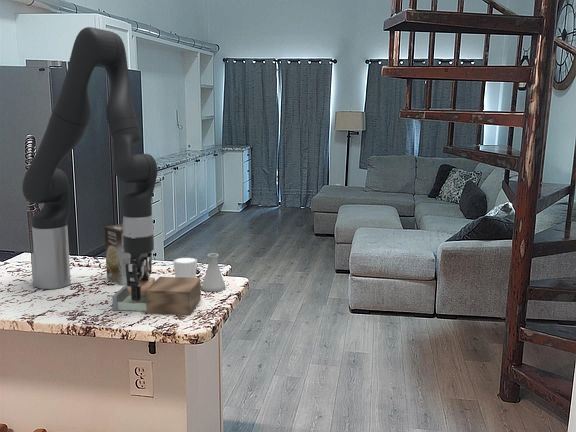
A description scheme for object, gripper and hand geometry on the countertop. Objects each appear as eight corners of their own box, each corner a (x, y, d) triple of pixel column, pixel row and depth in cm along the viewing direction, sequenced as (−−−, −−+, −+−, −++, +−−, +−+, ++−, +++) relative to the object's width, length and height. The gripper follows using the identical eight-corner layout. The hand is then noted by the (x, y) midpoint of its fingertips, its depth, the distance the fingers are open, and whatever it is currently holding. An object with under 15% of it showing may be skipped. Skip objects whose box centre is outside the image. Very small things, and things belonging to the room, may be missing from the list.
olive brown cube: (136, 293, 158) (136, 281, 158) (141, 289, 162) (140, 277, 162) (150, 294, 158) (150, 281, 158) (155, 289, 162) (154, 277, 162)
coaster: (123, 294, 146) (123, 287, 145) (132, 287, 152) (132, 279, 152) (148, 295, 145) (148, 288, 145) (156, 288, 152) (155, 280, 151)
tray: (112, 310, 145) (112, 296, 144) (127, 297, 155) (126, 283, 154) (155, 312, 144) (155, 297, 143) (167, 298, 154) (166, 285, 153)
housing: (146, 313, 143) (145, 290, 142) (160, 297, 155) (159, 276, 154) (190, 315, 143) (189, 292, 142) (200, 299, 154) (200, 278, 153)
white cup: (175, 279, 172) (174, 257, 170) (198, 279, 172) (198, 257, 171) (172, 286, 165) (171, 263, 164) (196, 286, 166) (196, 263, 164)
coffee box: (105, 278, 172) (103, 226, 169) (124, 274, 176) (122, 223, 173) (122, 285, 165) (120, 231, 162) (141, 281, 170) (139, 227, 167)
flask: (221, 293, 160) (221, 258, 158) (196, 291, 161) (196, 256, 160) (229, 285, 167) (229, 252, 165) (205, 284, 168) (205, 250, 166)
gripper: (133, 226, 153) (135, 287, 156) (113, 238, 139) (116, 304, 142) (160, 227, 153) (162, 288, 156) (143, 239, 139) (146, 306, 142)
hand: (140, 295), depth 149 cm, fingers closed on coaster, 6 cm apart
